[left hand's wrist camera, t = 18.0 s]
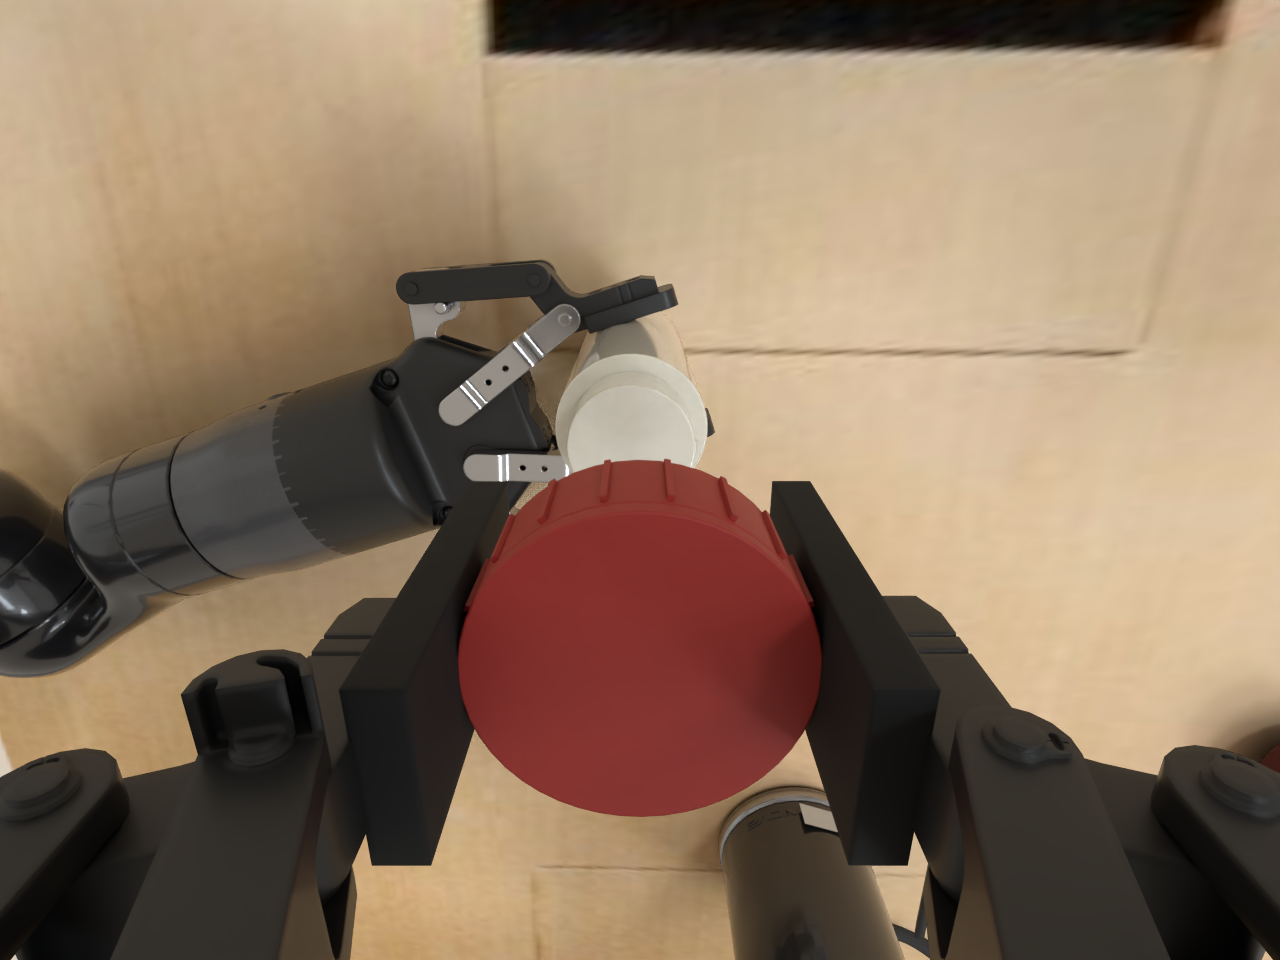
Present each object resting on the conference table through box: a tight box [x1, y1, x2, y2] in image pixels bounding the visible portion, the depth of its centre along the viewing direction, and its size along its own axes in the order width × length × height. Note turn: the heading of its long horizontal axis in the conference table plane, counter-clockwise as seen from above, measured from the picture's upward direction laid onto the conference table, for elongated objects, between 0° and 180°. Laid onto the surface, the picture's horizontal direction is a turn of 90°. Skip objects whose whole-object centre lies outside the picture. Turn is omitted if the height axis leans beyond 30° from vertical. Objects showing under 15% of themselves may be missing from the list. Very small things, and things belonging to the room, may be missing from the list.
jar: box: [555, 311, 708, 473], centre depth 28 cm, size 5×5×16 cm
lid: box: [457, 459, 822, 817], centre depth 11 cm, size 6×6×2 cm
